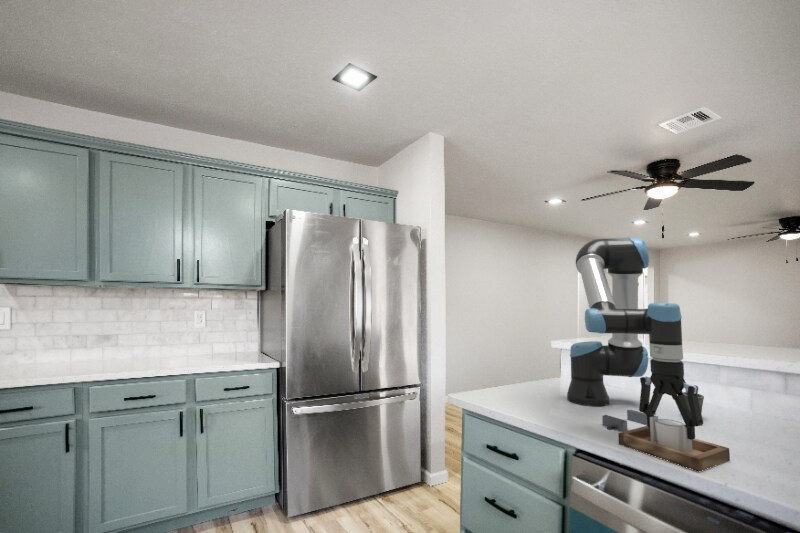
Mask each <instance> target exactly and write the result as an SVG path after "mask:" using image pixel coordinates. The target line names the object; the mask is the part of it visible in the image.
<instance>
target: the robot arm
mask: <svg viewBox="0 0 800 533" xmlns="http://www.w3.org/2000/svg"><path fill="white" fill-rule="evenodd" d="M649 263H650V254H649V251H648V247H647V243H645V241H644V239H643V238H640V237H629V236H628V237H614V238H596V239H593V240H591V241H589V242H587V243H586V244H584V245H583V246H582V247H581V248H580V249H579V251H578V252H577V254H576V258H575V267H576V270H577V272H578V273H579V274H581V279H582V283H583V287H584V291H585V296H586V299H587V303H588V307H589V308H587V309H586V310H585V312H584V323H585V326H584V327H585V329H586V331H587V332H588V333H594V334H595V333H597V334H603V335H604V334H611V335H612V337H610V338H609V339H608V340H607V345H604V344H603V343H602V342H601V341H597V340H595V341H593V340H592V341H589V340H588V341H581V342H576V343H572V345H571V346H570V353H569V357H570V376H571V378H570V383H569V386H568V390H567V392H566V397H567V398H566V399H567V401H569V402H571V403H574V404H577V405H582V406H590V407H591V406H593V407H604V406H608V405H609V404H610V396H609V395H608V391H607V389H606V387H605V384H604V383H605V382H604V376H610V377H614V376H615V377H625V378H626V377H628V378H633V377H635V378H639V381H640V386H641V387H640V397H639V407H638V410H639V411H638V412H642V413H645V414H646V415H647V425H646V426H648V427H649V428H650V433H651V441H652V442H655V441H658V439H657V432H656V426H655V420H656V419H659V416H658V415H657V413H656V412H657V410H658V408H659V405H660V403H661V400H662V398H663V396H664V395H668V396H671V398H672V399H673V401H674V402H675V404H676V407H677V408H678V411H679V413H680V415H681V416H680V417H681V418H682V419H683V420H682V421H683V423H684V424H685V425H683V426H682V433H683V451H684V452H690V451H692V440H693V439H696V428H695V427H699V426H703V425H704V419H703V415H702V413H701V410H700V405H699V400H698V396H697V394H699V393H698V392H699V386H698V385H692V384H689V383H687V382H686V381H685V369H684V368H685V367H684V365H685V364H684V362H683V361H682V360H684V352H683V350H684V349H683V332H682V331H683V330H682V318H683V316H682V312H681V307H680V304H678V303H675V302H674V303H669V302H666V303H665V302H664V303H663V302H659V303H658V302H656V303H655V302H651V303H649V304H648V305H647V308H639V302H638V301H639V277H640V276H641V275H643V273H644V270H643V269H647V268H648V267H649ZM605 269H606V270H607V274H608V275H609V276H610V277H611V279H612V280H611V282H612V285H611V286H612V288H610V286H609V285H610V284H609V283H608V278H607V276H606V272H605ZM611 290H612V292H611ZM639 335H648V339H649V340H648V341H649V353H648V349H647V347H645V346H643V342H642V341H641V340H639V338H638V337H639ZM649 357H650V358H652V359H651V360H649ZM649 361H650V362H649ZM649 364H650V372H651V375H650V376H644V375H645V374H646V372H647V370H648V365H649ZM652 385H653V386H654V388H653V391H652V396H651V390H652V389H651V387H652ZM684 389H685V392H687V397H688V402H689V407H690V410H689V408H688V406H687V403H686V401H685V399H684V394H683V392H684V391H683V390H684ZM650 397H651V399H650Z"/></svg>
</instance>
